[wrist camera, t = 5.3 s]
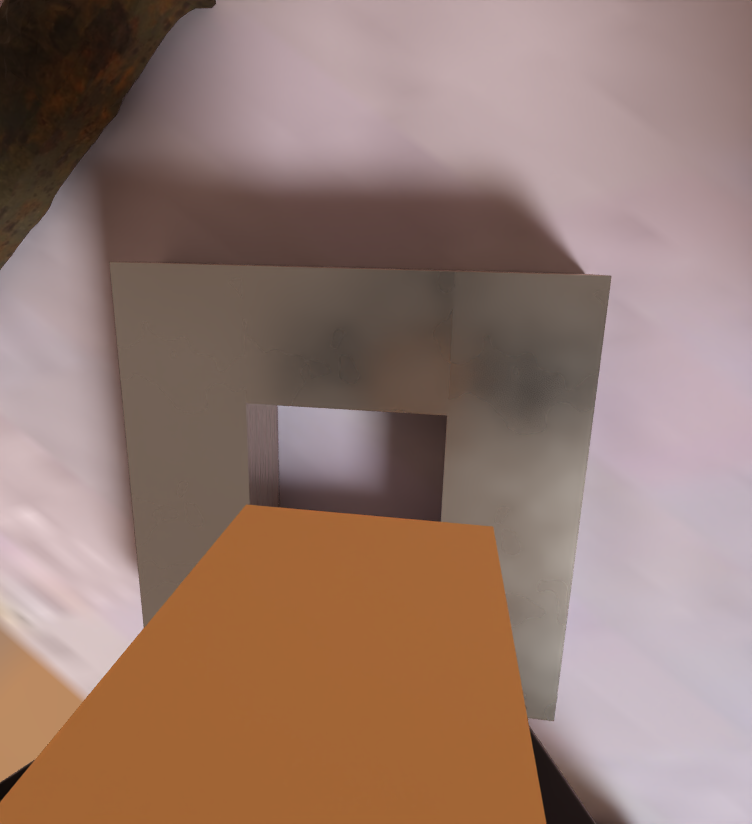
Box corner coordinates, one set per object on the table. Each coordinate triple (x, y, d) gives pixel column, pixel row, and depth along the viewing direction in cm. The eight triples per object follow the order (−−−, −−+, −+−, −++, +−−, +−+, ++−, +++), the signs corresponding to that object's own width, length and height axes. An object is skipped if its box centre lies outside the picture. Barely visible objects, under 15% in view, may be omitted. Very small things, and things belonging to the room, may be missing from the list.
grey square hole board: (585, 273, 17) (611, 276, 15) (540, 658, 21) (553, 721, 18) (161, 262, 19) (109, 262, 16) (186, 618, 23) (147, 669, 20)
